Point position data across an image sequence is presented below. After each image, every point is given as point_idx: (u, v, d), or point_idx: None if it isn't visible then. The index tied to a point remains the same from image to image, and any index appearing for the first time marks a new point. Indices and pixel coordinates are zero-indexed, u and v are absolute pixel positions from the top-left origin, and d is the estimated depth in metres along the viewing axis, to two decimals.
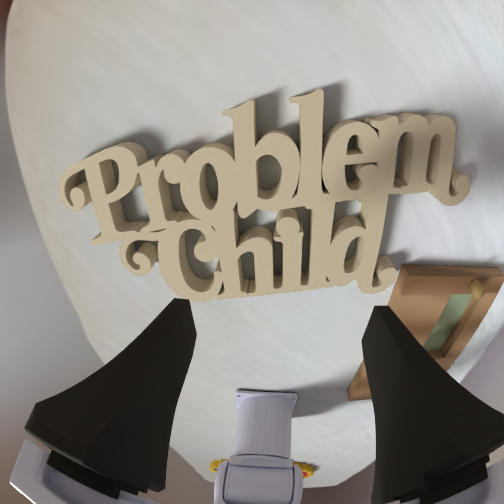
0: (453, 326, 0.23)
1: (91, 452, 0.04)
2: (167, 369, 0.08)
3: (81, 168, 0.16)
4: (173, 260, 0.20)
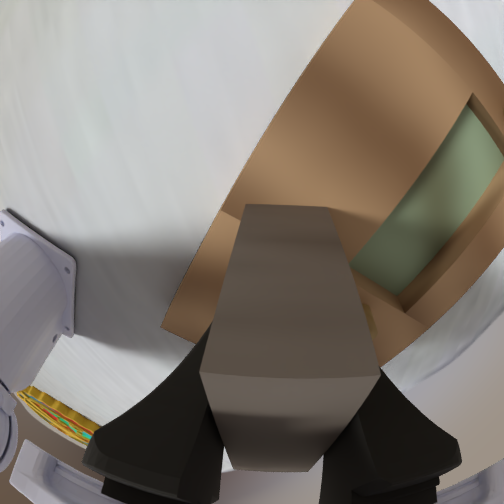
0: (444, 239, 0.11)
1: (181, 482, 0.03)
2: None
3: None
4: None
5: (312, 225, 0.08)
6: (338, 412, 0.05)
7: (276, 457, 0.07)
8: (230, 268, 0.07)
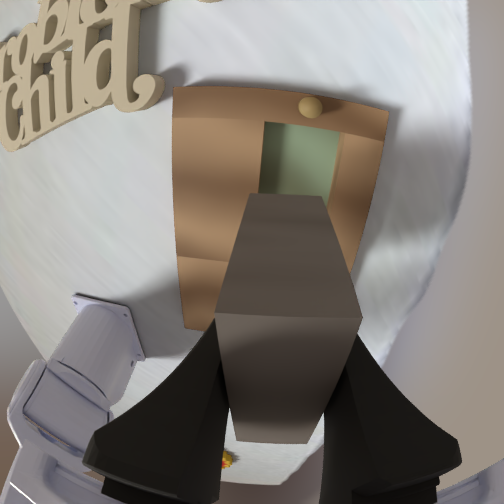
0: None
1: (181, 482, 0.03)
2: None
3: None
4: (3, 114, 0.14)
5: (307, 210, 0.10)
6: (330, 359, 0.06)
7: (277, 421, 0.08)
8: (238, 240, 0.08)
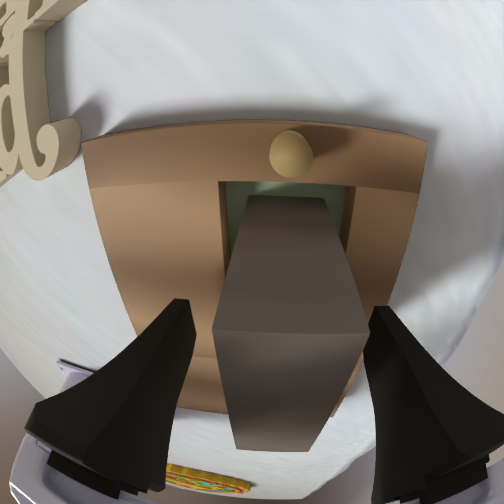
0: None
1: (91, 452, 0.04)
2: (167, 369, 0.08)
3: None
4: None
5: (309, 213, 0.09)
6: (334, 374, 0.05)
7: (278, 431, 0.08)
8: (237, 247, 0.07)
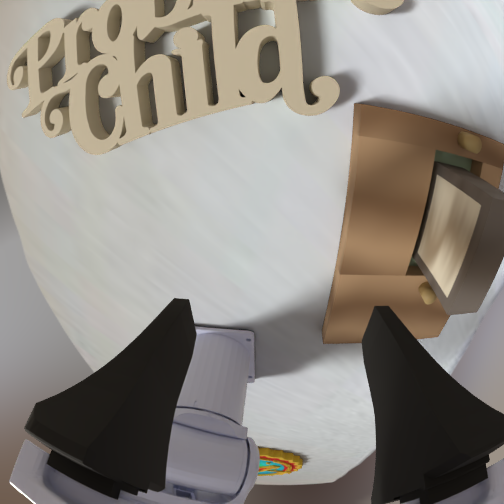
0: None
1: (91, 452, 0.04)
2: (167, 369, 0.08)
3: (25, 48, 0.11)
4: (80, 106, 0.14)
5: (468, 172, 0.14)
6: None
7: (480, 280, 0.12)
8: (465, 179, 0.12)
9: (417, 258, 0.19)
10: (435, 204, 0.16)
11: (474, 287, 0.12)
